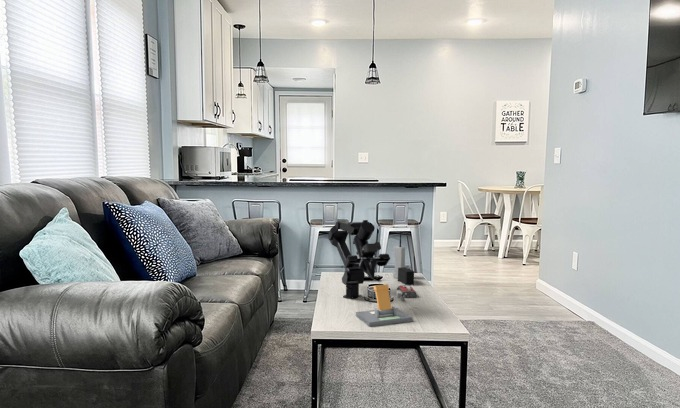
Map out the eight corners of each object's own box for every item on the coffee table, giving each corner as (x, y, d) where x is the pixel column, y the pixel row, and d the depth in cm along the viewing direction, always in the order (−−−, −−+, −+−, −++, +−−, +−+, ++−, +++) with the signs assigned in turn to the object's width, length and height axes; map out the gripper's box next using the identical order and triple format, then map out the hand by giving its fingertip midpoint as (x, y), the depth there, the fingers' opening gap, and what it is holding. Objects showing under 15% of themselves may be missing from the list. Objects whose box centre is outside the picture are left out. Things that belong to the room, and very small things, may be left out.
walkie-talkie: (392, 291, 214) (400, 303, 194) (392, 282, 213) (401, 293, 193) (410, 291, 214) (420, 303, 194) (410, 282, 214) (421, 293, 194)
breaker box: (355, 315, 175) (355, 304, 175) (396, 311, 181) (396, 300, 181) (369, 326, 163) (369, 314, 162) (412, 321, 169) (412, 309, 169)
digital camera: (416, 284, 225) (416, 271, 225) (406, 285, 224) (406, 271, 223) (407, 279, 235) (407, 266, 235) (397, 280, 234) (398, 267, 233)
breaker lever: (378, 315, 170) (373, 286, 174) (391, 314, 172) (386, 285, 176) (380, 315, 168) (375, 285, 172) (393, 313, 170) (388, 284, 174)
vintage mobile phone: (396, 276, 243) (397, 230, 241) (404, 277, 240) (405, 231, 238) (393, 277, 240) (393, 231, 238) (400, 279, 237) (401, 232, 235)
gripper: (347, 236, 181) (357, 268, 171) (388, 234, 188) (400, 266, 178) (340, 251, 189) (349, 284, 179) (380, 249, 195) (391, 280, 186)
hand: (373, 278), depth 181 cm, fingers closed
